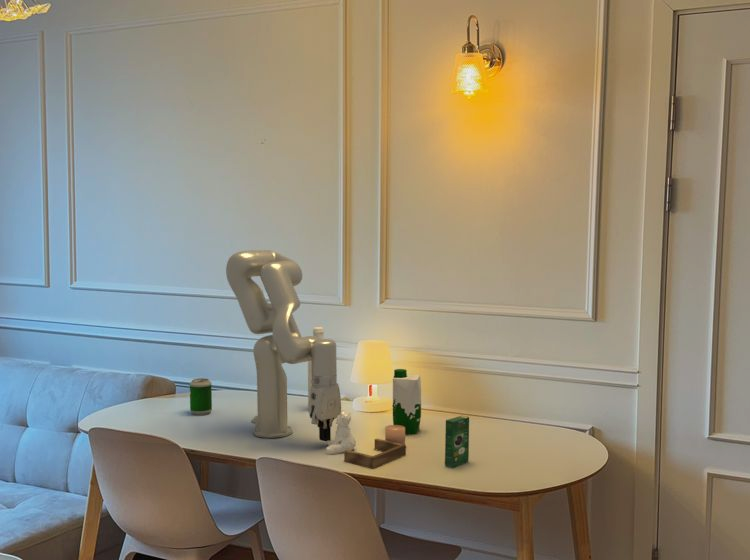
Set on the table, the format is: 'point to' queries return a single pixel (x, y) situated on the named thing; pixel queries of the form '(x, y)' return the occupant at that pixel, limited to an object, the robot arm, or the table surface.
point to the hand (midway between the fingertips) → (325, 440)
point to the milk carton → (406, 400)
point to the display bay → (390, 454)
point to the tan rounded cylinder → (395, 434)
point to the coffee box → (457, 441)
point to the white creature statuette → (342, 436)
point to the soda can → (200, 396)
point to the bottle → (317, 333)
